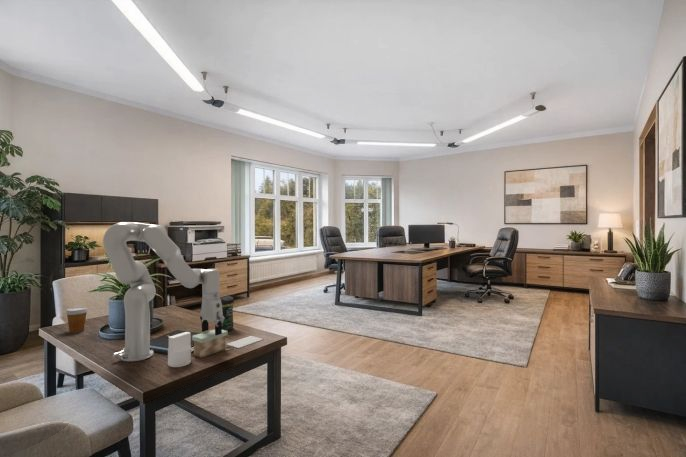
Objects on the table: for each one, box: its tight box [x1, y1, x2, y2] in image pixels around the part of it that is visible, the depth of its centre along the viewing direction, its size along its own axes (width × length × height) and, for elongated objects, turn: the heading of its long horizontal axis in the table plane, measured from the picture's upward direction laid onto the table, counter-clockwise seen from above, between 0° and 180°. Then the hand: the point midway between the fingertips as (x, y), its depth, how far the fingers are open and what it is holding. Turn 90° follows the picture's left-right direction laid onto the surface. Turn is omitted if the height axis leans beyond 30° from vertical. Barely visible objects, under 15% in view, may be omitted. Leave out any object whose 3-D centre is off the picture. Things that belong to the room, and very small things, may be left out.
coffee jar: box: [214, 295, 235, 332], centre depth 199 cm, size 10×8×19 cm
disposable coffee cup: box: [65, 306, 88, 333], centre depth 192 cm, size 10×10×12 cm
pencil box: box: [193, 336, 226, 358], centre depth 165 cm, size 13×5×7 cm, turn 146°
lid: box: [191, 329, 229, 343], centre depth 165 cm, size 14×7×2 cm, turn 146°
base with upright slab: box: [167, 331, 192, 368], centre depth 152 cm, size 9×9×12 cm
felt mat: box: [225, 335, 264, 350], centre depth 179 cm, size 16×9×1 cm, turn 146°
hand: (211, 332), depth 165 cm, fingers open, 9 cm apart
